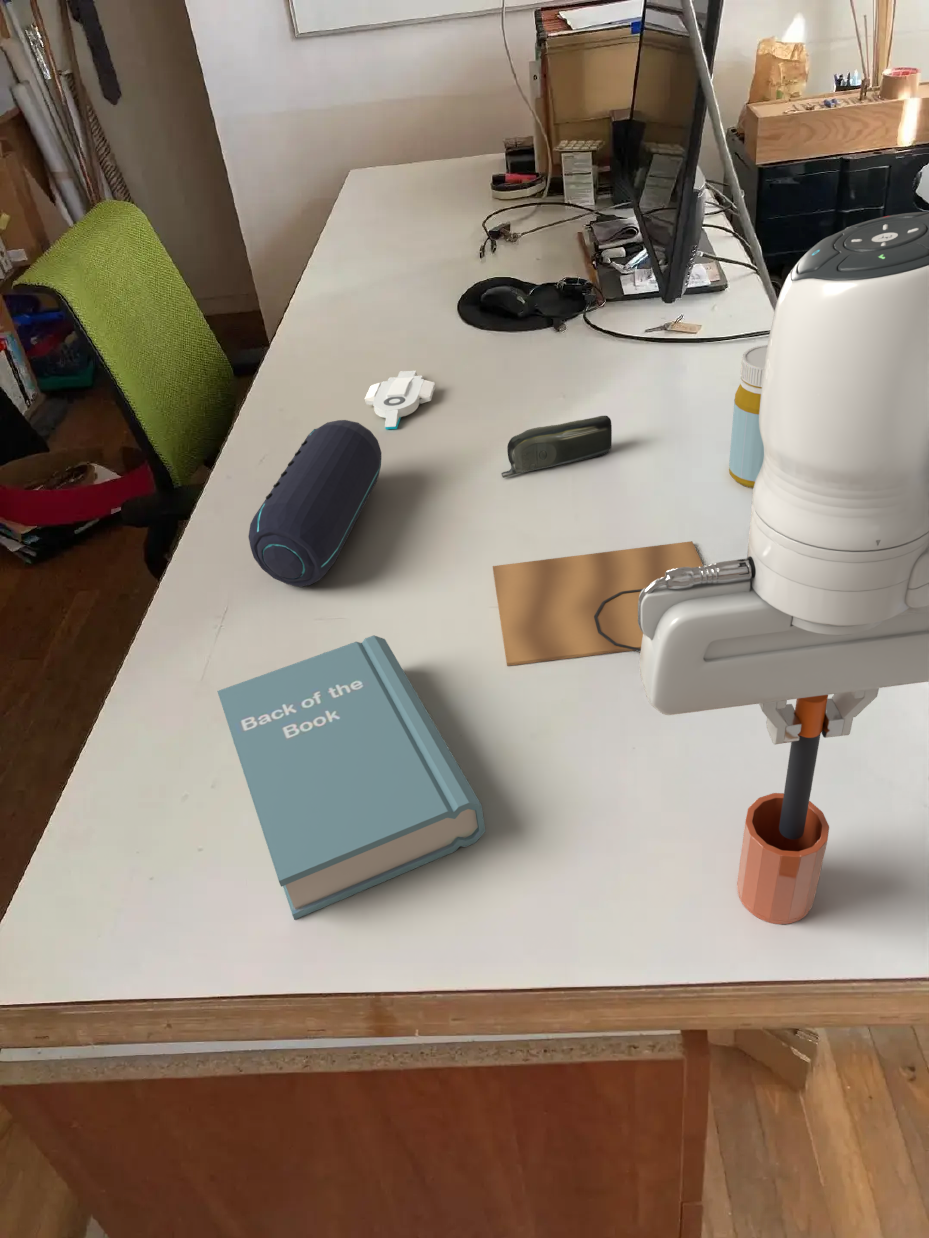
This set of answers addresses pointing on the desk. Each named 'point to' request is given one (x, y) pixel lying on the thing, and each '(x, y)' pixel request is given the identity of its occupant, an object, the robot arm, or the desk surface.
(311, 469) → the portable speaker
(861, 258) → the robot arm
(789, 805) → the marker
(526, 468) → the mobile phone
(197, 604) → the desk surface
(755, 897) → the pen cup
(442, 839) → the book
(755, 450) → the bottle
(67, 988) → the desk surface
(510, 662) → the paper mat
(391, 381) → the toy rocket
